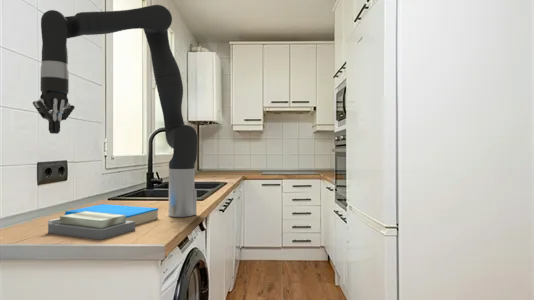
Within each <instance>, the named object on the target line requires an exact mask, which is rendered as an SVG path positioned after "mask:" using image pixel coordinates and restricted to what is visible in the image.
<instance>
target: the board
mask: <svg viewBox="0 0 534 300" xmlns="http://www.w3.org/2000/svg"><path fill="white" fill-rule="evenodd" d="M135 230H136V225H135V221H127V220H126V222H123V223H119V224H115V225H111V226H108V227H104V228H98V227H89V226H81V225H72V224H64V223H60V217H58V218H53V219H48V220H47V233H48V234H54V235H62V236H69V237H77V238H84V239H86V238H87V239H92V240H99V241H101V240H104V239H105V240H106V239H107V238H112V237H115V236H119V235H123V234H125V233H128V232H132V231H135Z"/></svg>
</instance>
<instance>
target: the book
mask: <svg viewBox="0 0 534 300" xmlns="http://www.w3.org/2000/svg"><path fill="white" fill-rule="evenodd" d="M85 211H88V212H98V213H109V214H119V215H126V220H127V221H135V226H137V225H140V224H143V223H146V222H150V221H153V220H156V219H159V217H158V215H159V213H158V211H159V207H158V208H157V207H146V206H134V205H133V206H130V205H120V204H119V205H116V204H108V203H107V204H105V203H104V204H103V203H101V204H96V205H92V206H91V205H90V206H85V207H81V208H76V209H70V210H66V211H65V213H64V215H69V214H74V213H79V212H85Z"/></svg>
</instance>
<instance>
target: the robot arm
mask: <svg viewBox="0 0 534 300" xmlns="http://www.w3.org/2000/svg"><path fill="white" fill-rule="evenodd" d="M172 22H173V17H172V13H171V12H170V10H169V9H168V8H167V7H166V6H163V5H162V4H152V5H148V6H143V7H136V8H132V9H121V10H112V11H111V10H110V11H109V10H108V11H107V10H106V11H103V10H102V11H81V12H80V11H79V12H76V14H74V15H71V16H65V15H64V14H63V13H62V12H60V11H58V10H55V9H49V10H47V11H45V12H44V13H43V14H42V16H41V19H40V30H41V43H42V45H41V65H40V92H41V95H40V97H39V99H38V100H37V101H36V100H35V101H33V102H32V105H33V106H34V108H35V109H36V111H37V112H38V114H39V115H40V117H41V118H42V119H45V120H46V121H48V132H49V133H50V134H52V135H53V134H55V135H58V134H59V133H60V131H61V121H66V120H67V119H68V117H69V116H70V115H71V113H72V112H73V111H74V110H75V105H71V103H69V98H68V94H69V85H70V84H69V81H70V80H69V73H70V72H69V65H68V64H69V52H68V47H67V43H68V42H67V41H68V39H71V38H77V37H81V36H95V35H96V36H97V35H107V34H112V33H113V34H114V33H116V32H117V33H118V32H122V31H128V30H137V29H140V30H141V29H143V32H144V34H145V38H146V41H147V44H148V48H149V51H150V57H151V64H152V65H151V66H152V70H153V76H154V81H155V85H156V90H157V93H158V98H159V103H160V106H161V110H162V111H161V112H162V116H163V125H164V133H165V140H166V142H167V145H168V146H169V147H170V148H171V149H173V150H172V157H171V159H170V160H169V162H168V217H173V218H186V217H191V216H194V215H195V216H196V215H197V205H198V204H197V203H198V202H197V198H198V197H197V196H198V194H197V191H198V190H197V188H195V175H196V174H195V173H196V172H195V171H196V170H195V166H196V163H197V158H198V157H197V156H198V134H197V131H196V129H195V127H193V126H191V125H189V124H185V121H184V117H183V112H182V110H183V109H182V104H183V98H184V97H183V95H184V84H183V81H182V80H183V79H182V76H181V71H180V67H179V65H178V63H177V60H176V58H175V56H174V55H173V53H172V52H173V51H172V50H171V46H170V40H169V32H168V30H169V28H170V27H171V25H172Z"/></svg>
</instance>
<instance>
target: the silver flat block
mask: <svg viewBox="0 0 534 300" xmlns="http://www.w3.org/2000/svg"><path fill="white" fill-rule="evenodd" d="M59 218H60V223H64V224H72V225H81V226H89V227H98V228H104V227H108V226H111V225H115V224H119V223H123V222H126V215H119V214H109V213H98V212H88V211H85V212H79V213H74V214H69V215H65V214H64V215H60V216H59Z"/></svg>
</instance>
